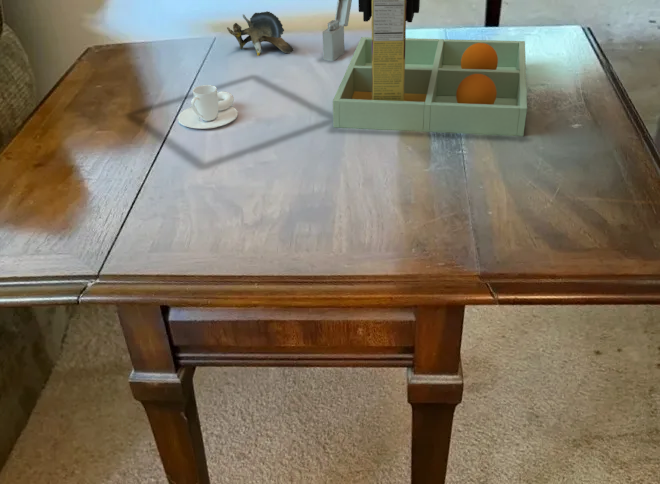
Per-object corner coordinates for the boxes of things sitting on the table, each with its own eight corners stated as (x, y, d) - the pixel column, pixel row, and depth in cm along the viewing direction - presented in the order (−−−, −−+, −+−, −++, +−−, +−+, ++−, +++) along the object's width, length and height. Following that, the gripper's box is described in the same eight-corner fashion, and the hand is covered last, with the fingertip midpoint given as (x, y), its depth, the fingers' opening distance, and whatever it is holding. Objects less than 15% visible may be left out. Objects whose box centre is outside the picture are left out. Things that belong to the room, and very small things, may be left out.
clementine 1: (496, 73, 108) (500, 38, 105) (495, 87, 104) (499, 50, 101) (460, 72, 109) (463, 37, 106) (458, 86, 105) (461, 49, 102)
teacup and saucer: (223, 100, 106) (220, 71, 104) (254, 118, 101) (251, 88, 99) (167, 118, 102) (162, 88, 100) (197, 137, 97) (192, 107, 95)
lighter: (333, 62, 116) (331, 7, 111) (323, 60, 117) (321, 6, 112) (352, 46, 121) (352, -6, 116) (342, 45, 122) (341, -7, 117)
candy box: (371, 81, 102) (373, -42, 93) (403, 81, 102) (409, -42, 93) (368, 108, 96) (370, -21, 86) (403, 108, 95) (409, -22, 86)
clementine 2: (494, 106, 100) (498, 68, 96) (494, 122, 96) (498, 83, 93) (455, 104, 100) (458, 67, 97) (453, 120, 97) (456, 82, 94)
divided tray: (521, 69, 111) (524, 40, 108) (522, 140, 93) (527, 108, 90) (361, 64, 115) (361, 37, 112) (333, 131, 97) (332, 100, 94)
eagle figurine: (228, 54, 117) (284, 44, 115) (224, 7, 117) (279, -4, 114) (246, 66, 125) (299, 56, 122) (242, 21, 124) (295, 11, 122)
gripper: (473, -164, 83) (460, 10, 94) (320, -161, 86) (326, 8, 97) (470, -154, 77) (457, 30, 88) (307, -150, 80) (314, 27, 92)
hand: (388, 16), depth 93 cm, fingers closed on candy box, 4 cm apart
